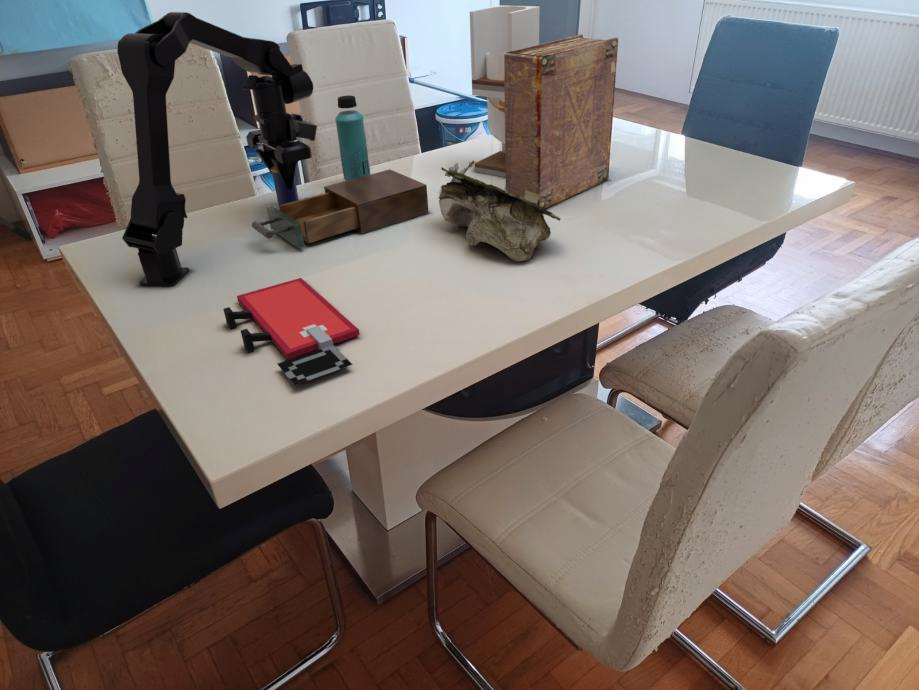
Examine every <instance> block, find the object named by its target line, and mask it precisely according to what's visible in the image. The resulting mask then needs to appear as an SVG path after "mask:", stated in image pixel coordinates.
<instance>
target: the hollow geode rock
mask: <svg viewBox="0 0 919 690" xmlns="http://www.w3.org/2000/svg"><path fill="white" fill-rule="evenodd" d="M440 170H441V171H443V172H445V173H446V172H447V174H449V175H450V177H451V178H453V177H454V178H455V179H458V181H459V180H460V181H461V182H450V181H449V182H446V184H442V185H441V186H440V193H439V196H438V199H439V200H438V204H439V208H440V209H439V210H440V212H441V215H442V217H443V219H444V221H446V222H449V223H450V224H452V225H455V226H456V227H458V228H464V227H465V228H467V230H466V233H465V236H464V237H465V241H466V242H467V243H468V244H469V245H472V246H477V245H478V244H479V243H480V242H482V243H487V244H488V245H490V246H493V247H494V248H496V249H498V250H499V251H500V252H502V253H504V255H506V256H507V257H508V258H509V259H511V260H512V261H515V262H523V261H527V260H530V259H531V258H532V257H533V254H534V250H535V249H536V247H538V246H539V245H540V244H541V242H544V241H546V240H548V239H549V238H550V237H551V233H552V231H551V228H550V226H549V224H548V223H547V221H546V219H545V216H548V217H550V218H551V219H555V220H557V221H558V222H560V221H561V220H562V219H561V217H559V216H557V215H555V214H554V213H552V212H551V211H548V210H547V209H544V208H542V207H541V206H539V205H537V204H536V203H532V202H530V201H528V200H526V199H524V198H523V197H520V196H516V195H513V194H511V193H509V192H507V191H506V189H503V188H500V187H498V186H497V185H493V184H491V183H490V184H488V183H486V182H484V181H482V180H480V179H476V178H473V177H472V176H470V175H469V176H468V175H467V174H465V175H464V174H462V173H458V172H459V171H458V172H456V171H453V170H451V171H450V170H449V169H446V168H444V167H442V166H441V167H440ZM450 177H449V176H446V178H450Z"/></svg>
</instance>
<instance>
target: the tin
mask: <svg viewBox="0 0 919 690" xmlns="http://www.w3.org/2000/svg"><path fill="white" fill-rule="evenodd" d="M271 171H272V174H271V175H272V180H273V185H274V189H275V194H276V195H275V196H276V201H277V206H278V207H279V205H282V204H286V203H290V202H293V201H297V200H300V199H299V198H300V197H299V193H298V192H299V191H298V188H297V182H296V176H295V174H294V182H293V188H292V189H287V187H286V186H285V184H284V182H283V180H282V178H281V177H280V175H279V173H278V171H277V169H276V167H275V166H273V167H271Z"/></svg>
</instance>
